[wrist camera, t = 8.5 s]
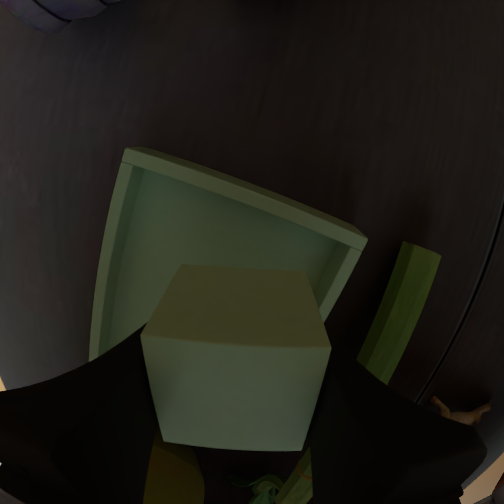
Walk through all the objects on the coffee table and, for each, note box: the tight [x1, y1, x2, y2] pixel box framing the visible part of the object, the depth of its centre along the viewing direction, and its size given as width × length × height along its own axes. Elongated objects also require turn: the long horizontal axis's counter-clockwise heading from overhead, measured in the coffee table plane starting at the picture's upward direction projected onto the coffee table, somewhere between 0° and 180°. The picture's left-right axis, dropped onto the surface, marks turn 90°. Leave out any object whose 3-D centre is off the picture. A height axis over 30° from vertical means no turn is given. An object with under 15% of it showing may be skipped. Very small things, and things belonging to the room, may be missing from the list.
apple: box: [143, 426, 205, 504], centre depth 15 cm, size 10×10×11 cm
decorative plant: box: [228, 241, 441, 504], centre depth 18 cm, size 6×8×30 cm
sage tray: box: [89, 146, 368, 362], centre depth 15 cm, size 14×11×2 cm
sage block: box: [140, 264, 331, 451], centre depth 10 cm, size 4×4×4 cm
